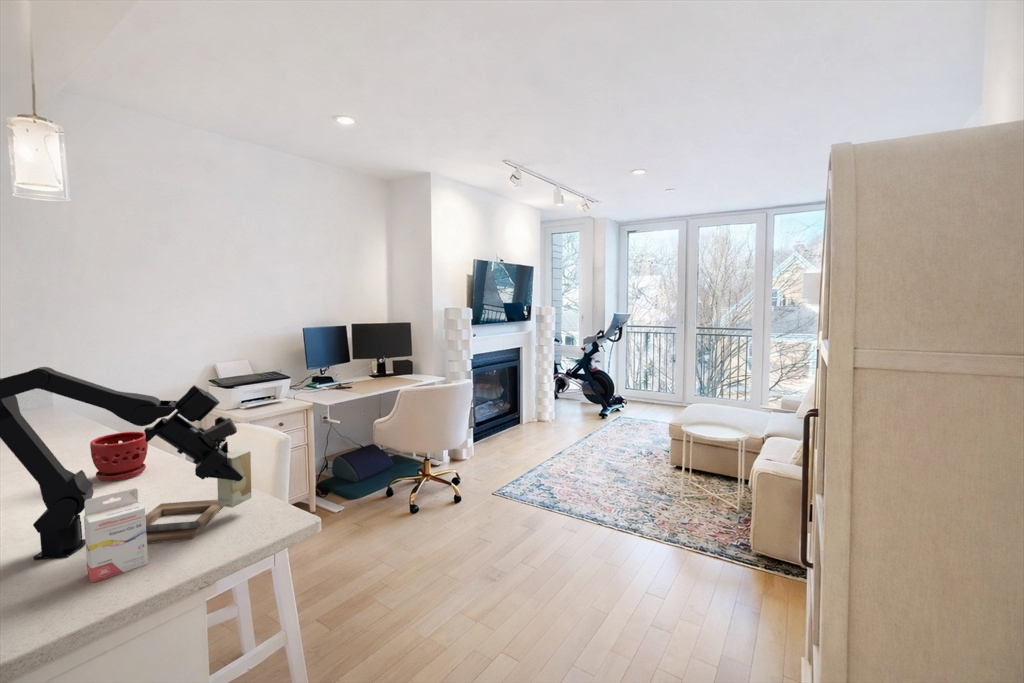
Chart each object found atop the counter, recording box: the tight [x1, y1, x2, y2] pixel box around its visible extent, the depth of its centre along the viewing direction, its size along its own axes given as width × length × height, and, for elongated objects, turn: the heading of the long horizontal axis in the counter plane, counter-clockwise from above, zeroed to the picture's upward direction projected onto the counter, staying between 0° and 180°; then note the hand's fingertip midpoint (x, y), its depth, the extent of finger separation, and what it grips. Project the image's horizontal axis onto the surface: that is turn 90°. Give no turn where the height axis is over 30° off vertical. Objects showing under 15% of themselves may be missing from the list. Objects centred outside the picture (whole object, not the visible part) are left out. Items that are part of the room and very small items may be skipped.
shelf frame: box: [145, 498, 224, 544], centre depth 108 cm, size 18×15×3 cm
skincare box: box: [216, 449, 252, 509], centre depth 112 cm, size 6×4×12 cm
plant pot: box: [89, 431, 149, 482], centre depth 138 cm, size 13×13×12 cm
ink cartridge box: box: [83, 488, 149, 583], centre depth 89 cm, size 9×5×15 cm, turn 141°
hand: (241, 474), depth 113 cm, fingers closed on skincare box, 7 cm apart
